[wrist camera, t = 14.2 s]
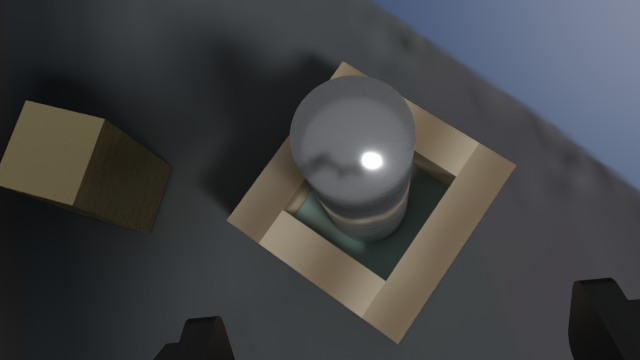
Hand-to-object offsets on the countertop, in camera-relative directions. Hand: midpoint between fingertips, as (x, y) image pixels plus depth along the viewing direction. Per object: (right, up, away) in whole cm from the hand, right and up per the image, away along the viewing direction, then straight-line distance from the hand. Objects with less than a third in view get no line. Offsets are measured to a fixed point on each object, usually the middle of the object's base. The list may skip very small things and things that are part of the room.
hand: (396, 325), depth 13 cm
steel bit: (+1, +2, +16) cm, 17 cm away
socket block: (+1, +2, +18) cm, 18 cm away
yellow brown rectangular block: (-13, +3, +20) cm, 23 cm away
